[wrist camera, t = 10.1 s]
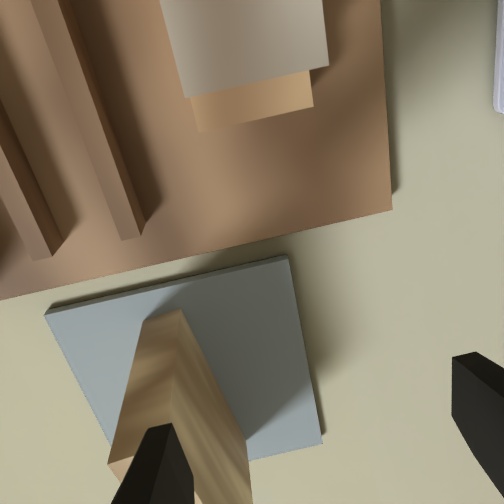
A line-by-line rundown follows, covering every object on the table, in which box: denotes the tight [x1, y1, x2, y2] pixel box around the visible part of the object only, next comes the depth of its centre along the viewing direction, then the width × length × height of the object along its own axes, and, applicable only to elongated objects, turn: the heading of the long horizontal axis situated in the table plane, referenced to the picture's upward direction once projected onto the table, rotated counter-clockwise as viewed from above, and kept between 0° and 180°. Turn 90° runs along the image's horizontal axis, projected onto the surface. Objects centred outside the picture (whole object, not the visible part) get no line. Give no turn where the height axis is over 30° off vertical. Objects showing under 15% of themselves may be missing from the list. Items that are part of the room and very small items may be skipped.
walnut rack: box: [0, 0, 392, 300], centre depth 13 cm, size 20×18×6 cm
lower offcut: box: [190, 70, 314, 133], centre depth 13 cm, size 4×7×2 cm, turn 11°
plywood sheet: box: [107, 308, 253, 504], centre depth 19 cm, size 2×10×8 cm, turn 19°
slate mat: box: [44, 255, 323, 461], centre depth 22 cm, size 12×13×1 cm
